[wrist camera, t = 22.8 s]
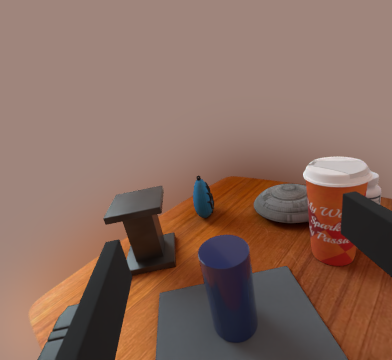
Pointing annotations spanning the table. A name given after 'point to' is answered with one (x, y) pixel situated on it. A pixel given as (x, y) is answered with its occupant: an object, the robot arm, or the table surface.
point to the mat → (266, 330)
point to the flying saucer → (284, 203)
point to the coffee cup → (332, 205)
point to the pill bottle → (374, 189)
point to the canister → (229, 287)
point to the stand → (143, 230)
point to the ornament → (202, 198)
